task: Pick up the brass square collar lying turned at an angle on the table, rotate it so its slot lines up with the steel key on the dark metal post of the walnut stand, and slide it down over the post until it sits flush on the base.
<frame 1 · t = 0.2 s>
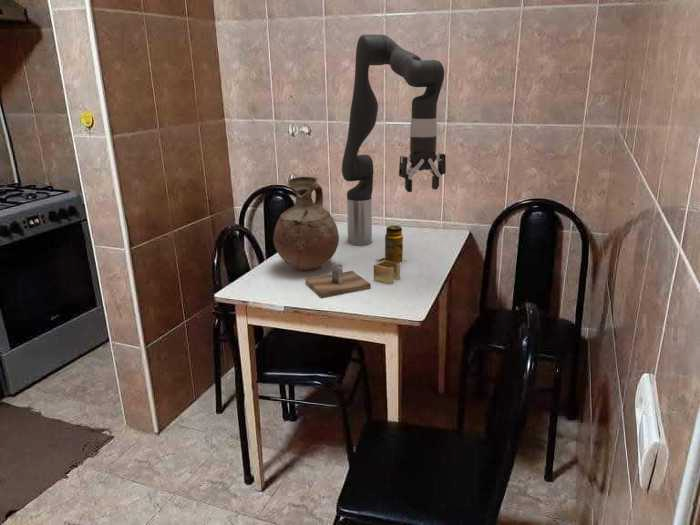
hand: (421, 190, 158), 28 cm above the table, tool pointing down, fingers open, 8 cm apart
condiment: (391, 261, 185), on the table
jug: (307, 267, 180), on the table
collar: (386, 279, 168), on the table
keyed stand: (337, 285, 163), on the table
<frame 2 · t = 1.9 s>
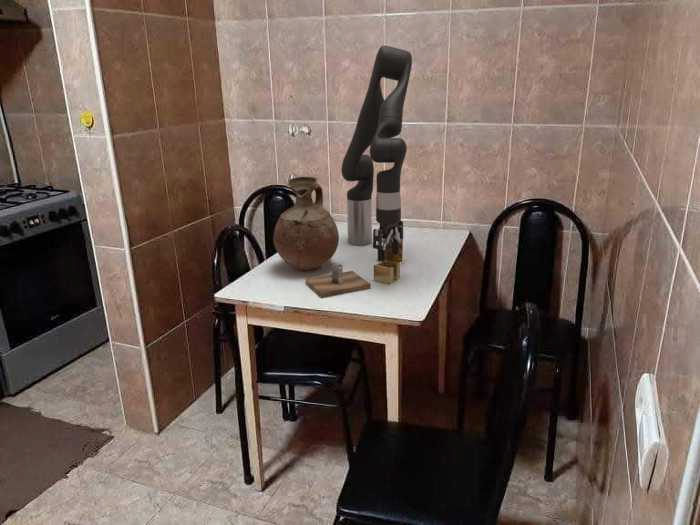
hand: (388, 257, 165), 7 cm above the table, tool pointing down, fingers open, 8 cm apart
nothing on the table moved.
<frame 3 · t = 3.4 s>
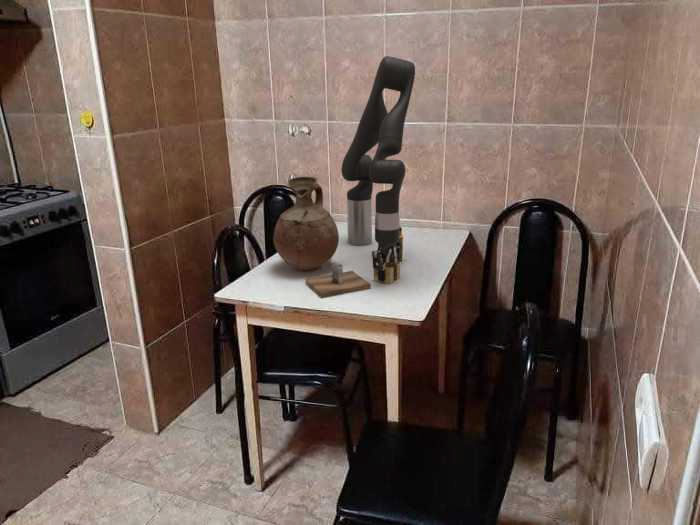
hand: (386, 277, 167), 1 cm above the table, tool pointing down, fingers closed on collar, 6 cm apart
collar: (386, 279, 168), on the table, touching gripper
everything else where it was.
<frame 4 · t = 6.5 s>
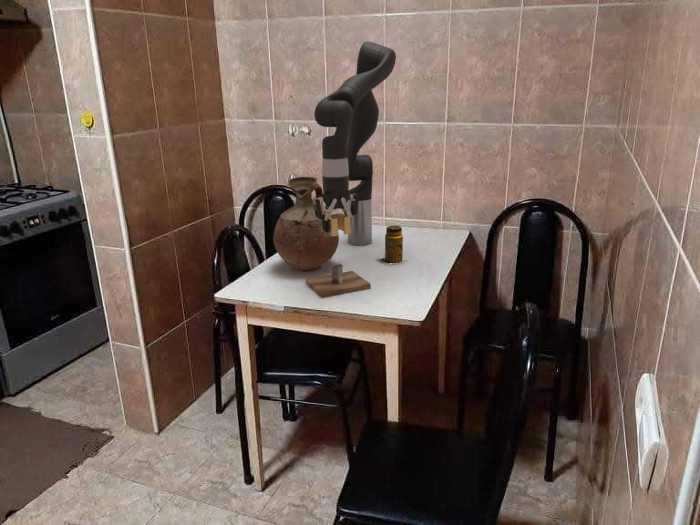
hand: (337, 230, 157), 18 cm above the table, tool pointing down, fingers closed on collar, 6 cm apart
collar: (337, 232, 157), point 17 cm above the table, touching gripper
everything else where it was.
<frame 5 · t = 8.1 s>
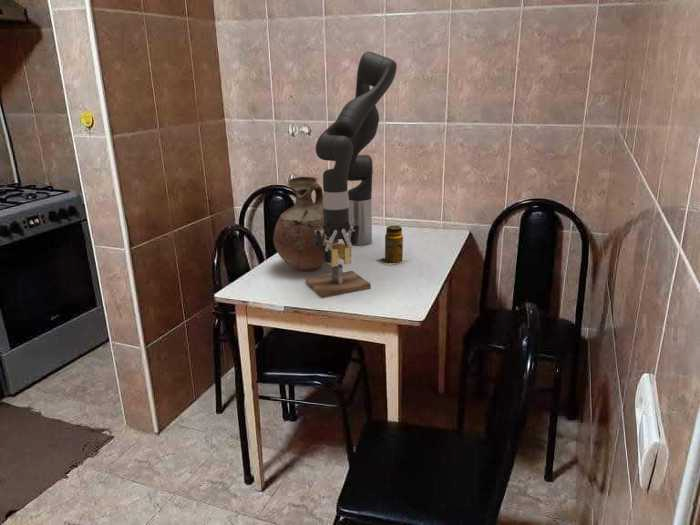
hand: (337, 260, 160), 8 cm above the table, tool pointing down, fingers closed on collar, 6 cm apart
collar: (337, 262, 160), point 8 cm above the table, touching gripper
everything else where it was.
when the fingers open (4 cm above the table, at t = 9.5 s): collar drops 2 cm, resting on keyed stand.
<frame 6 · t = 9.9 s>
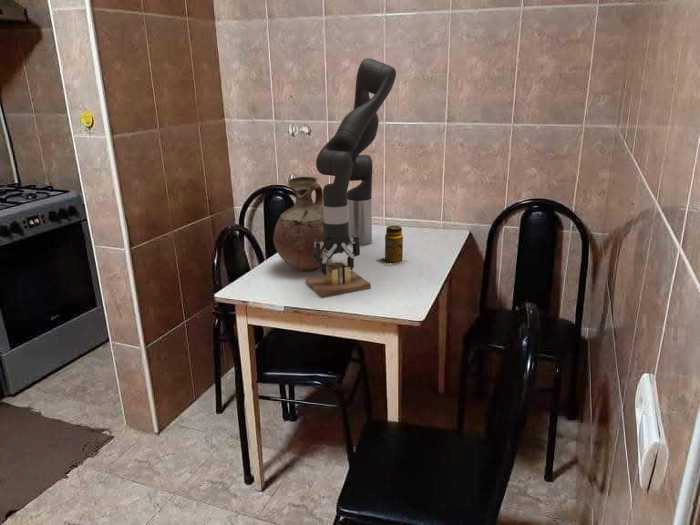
hand: (337, 271, 162), 5 cm above the table, tool pointing down, fingers open, 8 cm apart
collar: (337, 281, 163), point 1 cm above the table, touching keyed stand
everything else where it was.
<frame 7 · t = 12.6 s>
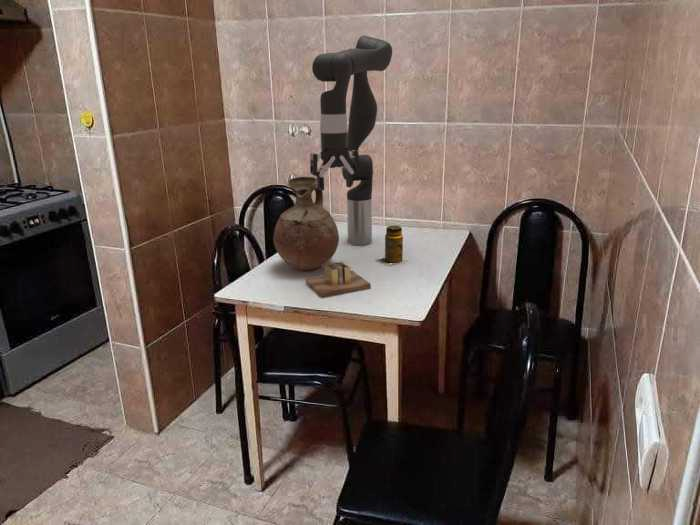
hand: (335, 188, 154), 30 cm above the table, tool pointing down, fingers open, 8 cm apart
nothing on the table moved.
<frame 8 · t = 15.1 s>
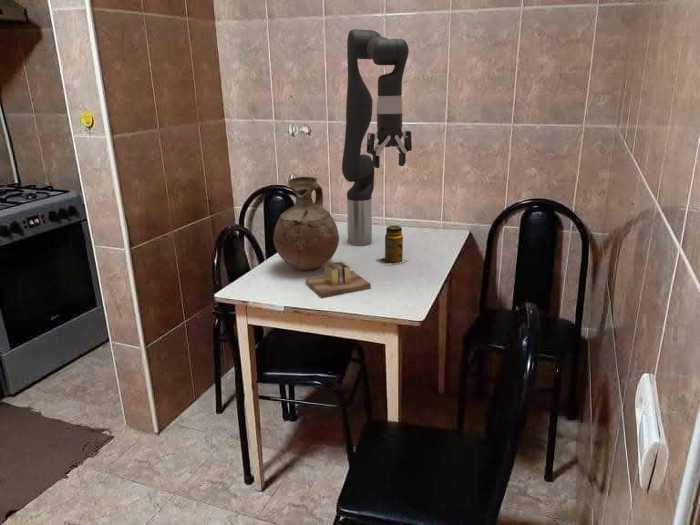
hand: (389, 166, 163), 34 cm above the table, tool pointing down, fingers open, 8 cm apart
nothing on the table moved.
at the end: collar 0.1 cm off-centre on the keyed stand, point 1.5 cm above the keyed stand's base; collar tilted 0°; the gripper is holding nothing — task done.
